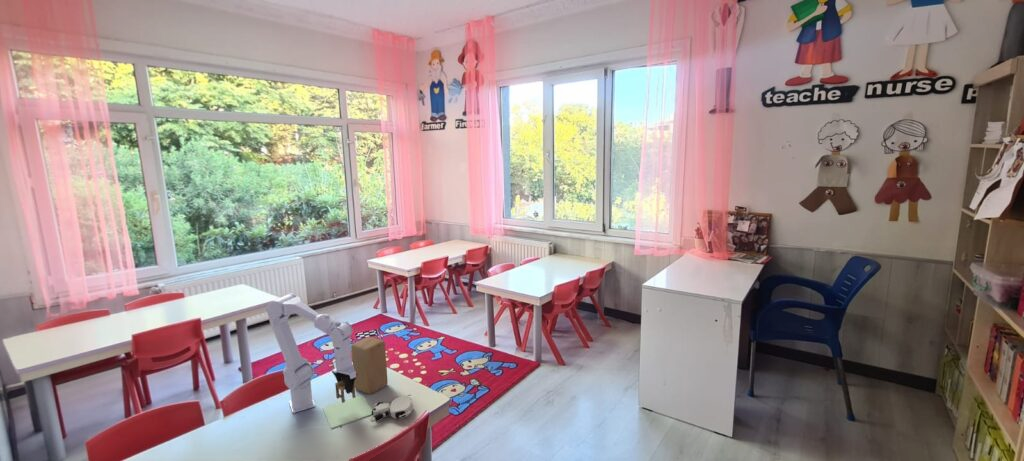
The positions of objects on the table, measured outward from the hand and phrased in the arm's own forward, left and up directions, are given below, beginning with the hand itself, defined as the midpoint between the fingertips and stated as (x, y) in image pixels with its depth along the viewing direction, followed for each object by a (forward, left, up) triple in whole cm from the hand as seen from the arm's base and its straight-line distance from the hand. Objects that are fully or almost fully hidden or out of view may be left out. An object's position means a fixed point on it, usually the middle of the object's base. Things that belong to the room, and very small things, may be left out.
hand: (345, 389), depth 158 cm
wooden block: (-13, +12, -9) cm, 20 cm away
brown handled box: (0, 0, -3) cm, 3 cm away
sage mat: (0, 0, -9) cm, 9 cm away
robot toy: (+12, +13, -10) cm, 20 cm away
